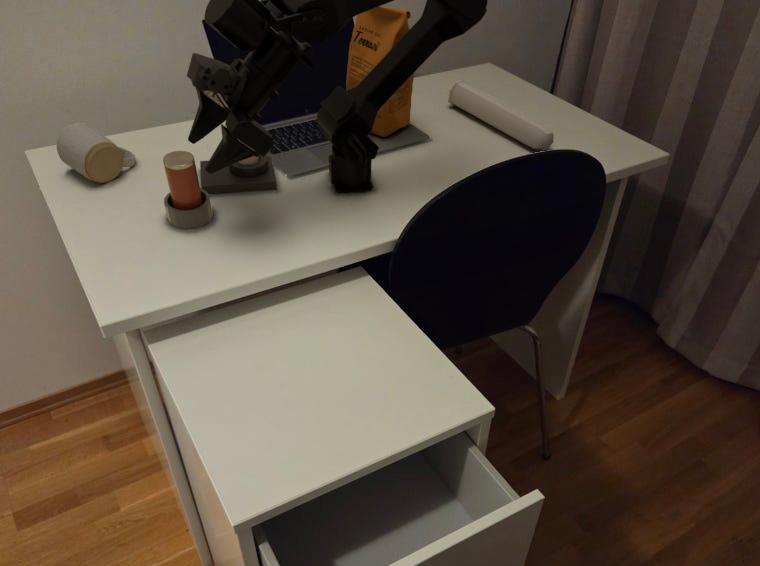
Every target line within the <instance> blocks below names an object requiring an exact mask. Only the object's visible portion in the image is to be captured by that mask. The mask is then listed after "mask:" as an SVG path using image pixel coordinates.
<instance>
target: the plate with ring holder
mask: <svg viewBox="0 0 760 566" xmlns="http://www.w3.org/2000/svg"><path fill="white" fill-rule="evenodd" d="M272 159H273V158H272V156H268V154H267V155H266V157H263V156H261V155H260V156H259V162H258V163H256V164H253V165H242V164H239V163H238V162H237V163H234V164H232V165H230V166H228V167H225V168H223V169H221V170H219V171H217V172H215V173H212V174H210V173H209V172H207V171H206V170H205V168H206V166H207V164H208V162H209V160H200V161H199V166H200V188H201V189H202V190H205V191H206V192H207V193H208V194H209V195H216V194H217V195H218V194H229V193H230V194H231V193H244V192H255V191H256V192H258V191H272V190H277V181H276V176H275V170H274V164H273V160H272Z"/></svg>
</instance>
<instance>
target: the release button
mask: <svg viewBox="0 0 760 566" xmlns="http://www.w3.org/2000/svg"><path fill="white" fill-rule="evenodd" d="M258 162H259V157H255V156H253V157H250V158H247V159H245V160H242V161H239V162H238V163H239V164H242V165H253V164H256V163H258Z"/></svg>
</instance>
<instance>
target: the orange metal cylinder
mask: <svg viewBox="0 0 760 566" xmlns="http://www.w3.org/2000/svg"><path fill="white" fill-rule="evenodd" d="M162 163H163V167H164V173H165V175H166V180H167V185H168V189H169V193H171V198H172V202H173V206H174V208H175V209H178V210H192V209H195V208H198V207H200V206H202V205H203V202H202V196H201V191H200V189H201V185H200V181H199V176H198V170H197V165H196V160H195V156H194V154H192V153H191V152H189V151H186V150H175V151H170V152H168V153H166V154H164V156H163V158H162Z"/></svg>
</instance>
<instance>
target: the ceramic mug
mask: <svg viewBox="0 0 760 566" xmlns="http://www.w3.org/2000/svg"><path fill="white" fill-rule="evenodd" d="M56 153H57V155H58V157H59V159H60V160H61V161H62V162H63V163H64V164H65V165H66V166H68V167H70V168H71V169H73V170H74V171H75V172H77V173H79V174H81V175H82V176H84V177H85V178H86V179H87V180H90V181H92V182H95V183H100V184H101V183H102V184H104V183H109V182H111V181H113V180H114V179H116V178H117V177H118V176H119V175H120V173H121V172H122V170H123V168H131V167H134V166H135V164H136V155H135V154H134V153H133V152H131V151H130V150H128V149H126V148H123V147H120V146H117V144H116V143H114V141H112V140H111V139H110V138H108V137H107V136H105V135H104V134H103V133H102V132H100V130H97V129H96V128H95V127H94V126H92V125H90V124H88V123H84V122H74V123H70V124H68V125H67V126H65V127H64V128H63V129H62V130H61V131H60V132H59V134H58V137H57V140H56Z"/></svg>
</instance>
